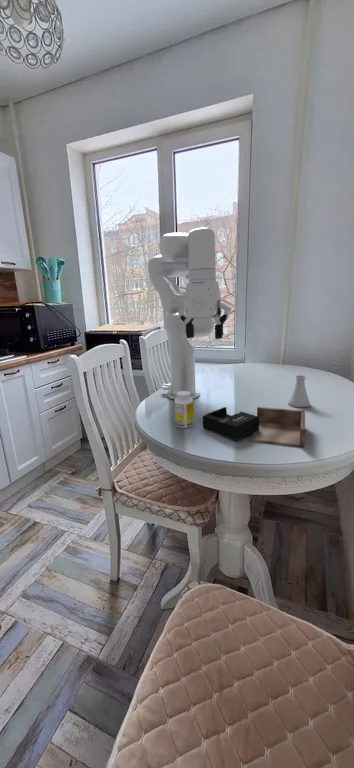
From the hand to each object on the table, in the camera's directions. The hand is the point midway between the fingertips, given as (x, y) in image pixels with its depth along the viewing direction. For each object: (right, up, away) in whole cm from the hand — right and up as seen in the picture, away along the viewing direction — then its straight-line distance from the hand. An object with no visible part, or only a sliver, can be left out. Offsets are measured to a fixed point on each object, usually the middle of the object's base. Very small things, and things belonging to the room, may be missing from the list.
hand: (204, 338), depth 94 cm
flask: (+34, -21, +15) cm, 42 cm away
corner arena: (+20, -27, -6) cm, 34 cm away
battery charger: (+7, -27, -3) cm, 28 cm away
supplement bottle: (-6, -26, +2) cm, 27 cm away
